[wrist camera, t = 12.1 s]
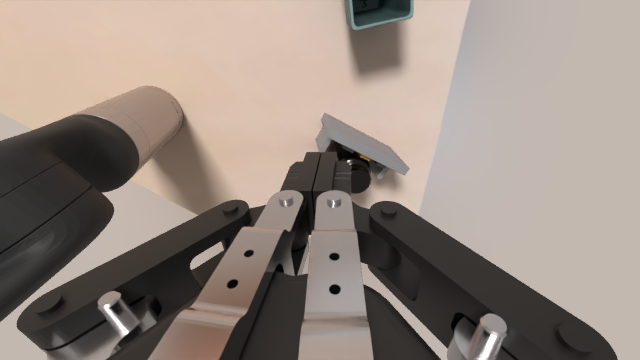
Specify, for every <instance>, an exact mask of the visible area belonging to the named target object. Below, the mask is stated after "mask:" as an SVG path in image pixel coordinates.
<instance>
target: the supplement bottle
mask: <svg viewBox="0 0 640 360" xmlns="http://www.w3.org/2000/svg"><path fill="white" fill-rule="evenodd" d="M329 152H337V161H347V162H348V163H349V165H350V166H351V193H355V194H356V193H361V192H363V191H365V190H366V189H367V188H368V187H369V185H370V183H371V182H370V181H371V177H370V172H371V167H370V164H369V162H368V160H366V159H364V158H362V157H360V156H359V154H358V152H357V151H354V152H353V153H352V152H349V151H347V150H345V149H343V147H342V145H341V144H340V143H338V142H335V143H333V144H332V146H331V147H330V149H329Z"/></svg>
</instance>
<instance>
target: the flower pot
mask: <svg viewBox="0 0 640 360" xmlns="http://www.w3.org/2000/svg"><path fill="white" fill-rule="evenodd" d="M364 3H365V4H366V6H365V7H363V4H364ZM345 6H346V16H347V23H348V25H349V26H350V27H351V28H352V29H353V30H355V31H356V30H361V29H365V28H369V27H373V26H378V25H382V24H387V23H391V22H396V21H401V20H406V19H410V18H412V16H413V12H414V11H413V10H414V9H413V0H345Z"/></svg>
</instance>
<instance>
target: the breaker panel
mask: <svg viewBox="0 0 640 360" xmlns="http://www.w3.org/2000/svg"><path fill="white" fill-rule="evenodd" d="M321 121H322V123H323V127H322V129H321V131H320V133H319V134H318V136H317V138H316V142H317V145H318V149H319V151H320V152H325V151H326V149H327V147H328V146H329V144H330V142H331V141H332V140H334V141H336V142H338V143H340V144H341V145H342V147H343V149H345V150H347V151H349V152H352V153H353V152H354V151H357V152H358V154H359V156H360V157H362V158H364V159H366V160H368V161H370V159H372V160H371V161H370V163H369V164H370V167H371V170H372V172H373V173H374V175H375V176H376V178H378V179H380V180H381V179H382V177H383V176H384V174H385V173H386V172H387V170H388V169H389V168H391V169H393V170H395V171H397V172H399V173H401V174H403V175H405V174H406V173H407V171H408V170H409V167H408V166H407V165H406V164H405V163H404V162H403V161H402V160H401V159H400V157H399V156H398V155H397V154H396V153H395V152H394V151H393V150H392V149H391V148H390V147H389V146H387V145H385V144H383V143H381V142H379V141H377V140H376V139H374V138H372V137H370V136H368V135H366V134H364V133H362V132H360V131H359V130H357V129H355V128H353V127H351V126H349V125H347V124H345V123H343V122H342V121H340V120H338V119H336V118H334V117H332V116H330V115H328V114H326V113H324V115H323V117H322V119H321Z"/></svg>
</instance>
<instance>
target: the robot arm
mask: <svg viewBox="0 0 640 360" xmlns="http://www.w3.org/2000/svg"><path fill="white" fill-rule="evenodd" d="M182 123H183V113H182V110H181V107H180V105H179V104H178V102H177V101H176V99H175V98H174V97H172V96H171V95H170V94H169V93H167V92H166V91H164V90H162V89H160V88H157V87H153V86H143V87H139V88H137V89H134V90H132V91H129V92H126V93H124V94H121V95H119V96H117V97H114V98H112V99H109V100H107V101H104V102H102V103H100V104H97V105H95V106H92V107H90V108H87V109H85V110H83V111H80V112H78V113H76V114H73V115H71V116H69V117H66V118H64V119H61V120H59V121H56V122H53V123H51V124H48V125H46V126H43V127H41V128H38V129H35V130H32V131H30V132H27V133H24V134H21V135H18V136H14V137H11V138H8V139H5V140H2V141H0V322H1V321H2V320H3V319H4V318H5V317H7V316H8V315H9V314H10V313H11V312H12V311H13V310H15V309H16V308H17V307H18V306H19V305H20V304H22V303H23V302H24V301H25V300H26V299H27V298H29V297H30V296H31V295H32V294H33V293H34V292H36V291H37V290H38V289H39V288H40V287H41V286H42V285H44V283H46V282H47V281H48V280H49V279H51V277H53V276H54V275H55V274H56V273H58V272H59V271H60V270H61V269H62V268H63V267H65V266H66V265H67V264H68V263H69V262H70V261H71V260H72V259H74V258H75V257H76V256H77V255H78V254H79V253H80V252H81V251H82V250H84V249H85V248H86V247H87V246H88V245H89V244H90V243H91V242H92V241H93V240H94V239H95V238H96V237H97V236H98V235H99V234H100V233H101V232H102V230H104V228H105V227H106V226H107V224H108V223H109V222H110V220H111V218H112V216H113V213H114V207H113V204H112V203H111V202H110V201H109V200H108V198H107V197H106V196H104V195H103V194H102V192H108V191H112V190H114V189H117V188H119V187H121V186H122V185H124V184H125V183H126V182H127V181H128V180H129V179H130V178H131V177H132V176H133V175H134V174H135V173H136V172H137V171H138V170H139V169H140V168H141V167H142V166H143V165H144V164H145V163H146V162H147V161H148V160H149V159H150V158H151V157H152V156H153V155H154V154H155V153H157V152H158V151H159V150H160V149H161V148H162V147H163V146H164V145H165V144H166V143H167V142H168V141H169V140H170V139H171V138H172V137H173V136H174V135H175V134H176V133H177V132H178V131H179V130H180V128H181V126H182ZM309 235H311V246H310V257H309V269H308V274H304V275H302V271H303V268H304V264H305V261H306V258H307V254H308V251H309V242H308V237H309ZM220 241H221V242H222V245H223V247H224V251H223V252H221V253H219V254H218V255H216V256H214V257H213V258H211V259H209V260H208V261H206V262H205V263H203V264H201V265H200V266H198V267H197V268H195V269H193V270H191V269H190V263H191V261H192V259H193V258H194V257H195V256H197V255H199V254H200V253H202V252H204V251H205V250H207V249H208V248H210V247H212V246H214V245H215V244H217V243H218V242H220ZM360 262H362V263H365V264H368V268H369V270H370V271H371V272H372V273H373V274H374V275H375V276H376V277H377V278H378V279H379V280H380V281H381V282H382V283H383V284H384V285H385V286H386V287H387V288H388V289H389V290H390V291H391V292H392V293H393V294H394V295H395V296H396V297H397V298H398V299H399V300H400V301H401V302H402V303H403V304H404V305H405V306H406V307H407V308H408V309H409V310H410V311H411V312H412V313H413V314H414V315H415V316H416V317H417V318H418V319H419V320H420V321H421V322H422V323H423V324H424V325H425V326H426V327H427V328H428V329H429V330H430V331H431V332H432V333H433V334H434V335H435V336H436V337H437V338H438V339H439V340H440V341H441V342H442V343H443V344H444V345H445V346H446V347H447V348H448V351H447V358H448V360H618V359H617V356H616V354H615V352H614V350H613V349H612V347H611V346H610V344H609V343H608V342H607V341H606V340H605V339H604V337H602V336H601V335H600V334H599V333H598V332H597V331H596V330H595V329H593V328H592V327H590V326H589V325H588V324H586V323H585V322H583V321H581V320H580V319H578V318H577V317H575V316H573V315H572V314H571V313H569V312H567V311H566V310H564V309H563V308H561V307H560V306H558V305H556V304H555V303H553V302H552V301H550V300H549V299H547V298H546V297H544V296H543V295H541V294H539V293H538V292H536V291H534V290H533V289H532V288H530V287H528V286H527V285H525V284H524V283H522V282H521V281H519V280H517V279H516V278H514V277H513V276H511V275H510V274H508V273H506V272H505V271H504V270H502V269H500V268H499V267H497V266H496V265H494V264H492V263H491V262H490V261H488V260H486V259H485V258H483V257H482V256H480V255H478V254H477V253H475V252H474V251H472V250H471V249H469V248H468V247H466V246H465V245H463V244H461V243H460V242H458V241H457V240H455V239H454V238H452V237H451V236H449V235H448V234H446V233H444V232H443V231H441V230H440V229H438V228H437V227H435V226H433V225H432V224H430V223H429V222H427V221H426V220H424V219H422V218H421V217H420V216H418V215H416V214H415V213H413V212H412V211H410V210H409V209H407V208H406V207H404V206H402V205H401V204H399V203H396V202H391V201H381V202H378V203H375V204H373V205H372V206H371V208H370V209H367V208H363V207H360V206H358V205H356V204H355V203H354V202H353V201H352V199H351V166H350V165H349V163H348V162H347V161H337V152H322V153H321V152H307V153H306V155H305V158H304V161H303V162H295V163H294V164H293V165H292V166H291V167H290V169H289V171H288V174H287V176H286V178H285V180H284V183H283V185H282V188H281V190H280V192H278V193H276V194H274V195H273V196H272V197H271V198H270V200H269V201H268V203H267V205H264V206H260V207H255V208H250V209H249V206H248V204H247V203H246V202H245V201H242V200H231V201H227V202H224V203H222V204H220V205H218V206H216V207H214V208H212V209H210V210H208V211H206V212H204V213H202V214H200V215H199V216H197V217H195V218H193V219H191V220H189V221H187V222H185V223H183V224H181V225H179V226H177V227H175V228H173V229H171V230H169V231H167V232H165V233H163V234H161V235H159V236H157V237H156V238H153V239H151V240H149V241H148V242H145V243H144V244H142V245H140V246H138V247H136V248H134V249H132V250H130V251H128V252H126V253H124V254H122V255H120V256H118V257H116V258H114V259H112V260H110V261H108V262H106V263H104V264H102V265H100V266H98V267H96V268H94V269H92V270H91V271H89V272H87V273H85V274H83V275H81V276H79V277H77V278H75V279H73V280H71V281H69V282H67V283H65V284H63V285H61V286H59V287H57V288H55V289H53V290H51V291H50V292H47V293H46V294H44V295H42V296H41V297H39V298H38V299H36V300H35V301H34V302H32V303H31V304H30V305H29V306H28V307H27V308H26V309H25V310H24V311H23V312H22V314H21V315H20V316H19V318H18V320H17V328H18V329H19V330H20V331H21V332H22V333H23V334H24V335H26V336H27V337H28V338H29V339H30V340H31V341H32V342H34V343H35V344H36V345H37V346H38V347H39V348H41V349H42V350H43V351H44V352H45V353H46V354H47V357H48V360H441V359H440V358H439V357H438V356H437V355H436V354H435V352H434V351H433V350H432V349H431V348H430V347H429V346H428V345H427V343H426V342H425V341H424V340H423V339H422V338H421V337H420V336H419V335H418V333H416V331H415V330H414V329H413V328H412V327H411V326H410V325H409V324H408V322H407V321H406V320H405V319H404V318H403V317H402V316H401V314H400V313H399V312H398V311H397V310H396V309H395V308H394V307H393V306H392V305H391V304H390V302H389V301H388V300H387V299H386V298H384V297H383V296H382V295H381V294H380V293H378V292H377V291H375V290H374V289H372V288H370V287H368V286H366V285H364V284H363V280H362V272H361V263H360Z"/></svg>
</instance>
